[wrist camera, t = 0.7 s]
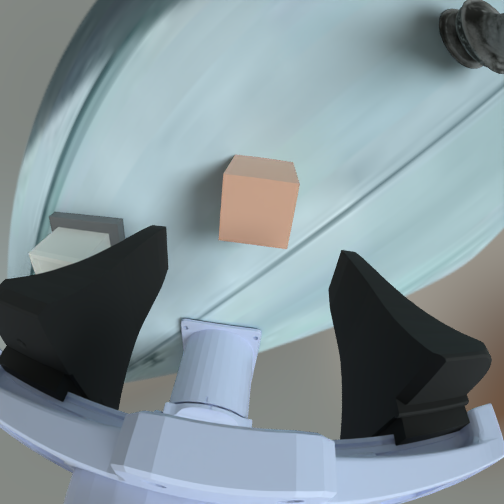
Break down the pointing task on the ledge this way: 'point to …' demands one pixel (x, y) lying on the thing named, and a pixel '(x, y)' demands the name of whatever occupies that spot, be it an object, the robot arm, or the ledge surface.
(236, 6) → the ledge surface
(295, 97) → the ledge surface
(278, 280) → the ledge surface
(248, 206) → the terracotta brick
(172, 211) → the ledge surface
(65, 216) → the tower base
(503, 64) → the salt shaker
